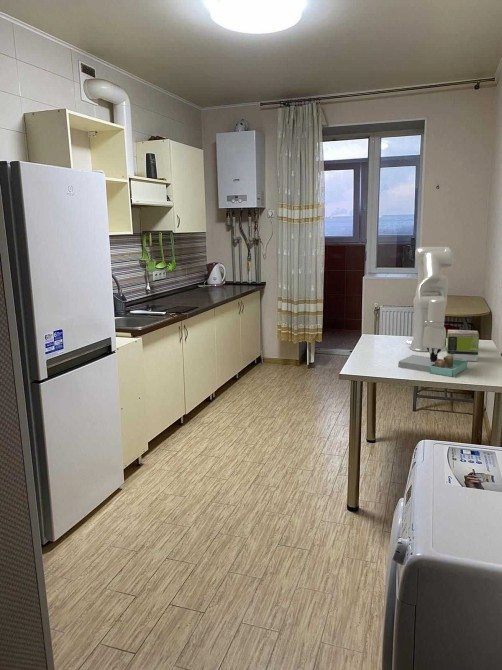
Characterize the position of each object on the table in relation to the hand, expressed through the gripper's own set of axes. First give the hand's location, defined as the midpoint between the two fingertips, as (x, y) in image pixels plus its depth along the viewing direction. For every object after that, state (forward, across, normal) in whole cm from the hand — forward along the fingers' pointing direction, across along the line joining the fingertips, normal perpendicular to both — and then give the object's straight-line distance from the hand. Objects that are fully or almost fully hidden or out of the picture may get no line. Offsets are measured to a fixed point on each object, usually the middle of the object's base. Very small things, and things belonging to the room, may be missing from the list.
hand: (433, 361), depth 250 cm
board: (+5, -8, +4) cm, 10 cm away
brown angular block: (+2, +3, +8) cm, 9 cm away
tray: (+4, +6, +4) cm, 9 cm away
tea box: (+5, +3, +31) cm, 32 cm away
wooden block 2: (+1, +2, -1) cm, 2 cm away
